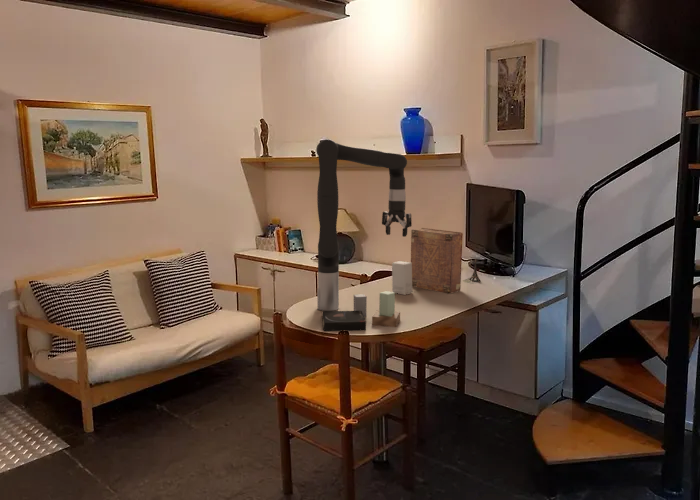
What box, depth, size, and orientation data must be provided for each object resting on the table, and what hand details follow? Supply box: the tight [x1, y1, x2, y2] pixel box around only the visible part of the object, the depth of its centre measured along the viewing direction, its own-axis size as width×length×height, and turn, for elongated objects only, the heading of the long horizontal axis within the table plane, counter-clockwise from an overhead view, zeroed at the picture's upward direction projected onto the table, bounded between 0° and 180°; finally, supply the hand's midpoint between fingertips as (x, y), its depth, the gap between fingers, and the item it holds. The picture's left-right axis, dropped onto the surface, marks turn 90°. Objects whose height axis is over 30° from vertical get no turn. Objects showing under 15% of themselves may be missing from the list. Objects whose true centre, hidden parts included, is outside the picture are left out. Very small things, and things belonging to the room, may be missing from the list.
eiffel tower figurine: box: [462, 259, 482, 285], centre depth 329 cm, size 15×10×13 cm
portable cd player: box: [321, 310, 367, 332], centre depth 247 cm, size 16×17×4 cm
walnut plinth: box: [371, 309, 401, 328], centre depth 251 cm, size 10×10×4 cm
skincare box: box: [391, 260, 413, 296], centre depth 300 cm, size 8×7×16 cm
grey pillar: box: [353, 293, 368, 318], centre depth 260 cm, size 4×4×9 cm
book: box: [410, 227, 464, 294], centre depth 309 cm, size 25×9×30 cm, turn 47°
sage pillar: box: [378, 290, 396, 316], centre depth 250 cm, size 4×4×9 cm
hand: (396, 235), depth 270 cm, fingers open, 8 cm apart
